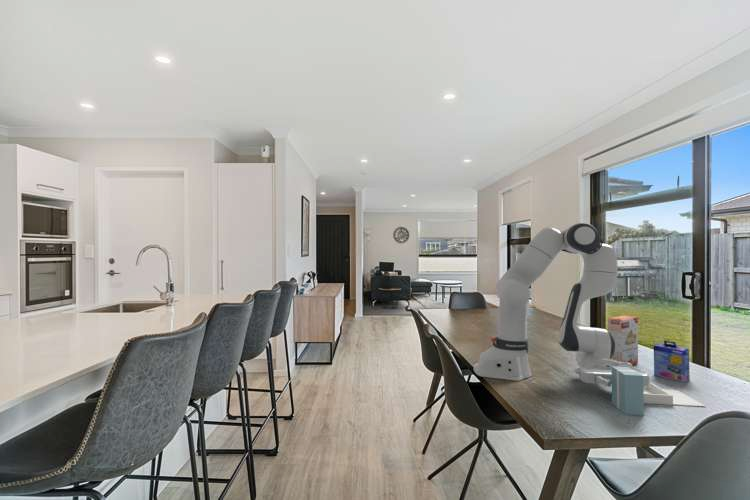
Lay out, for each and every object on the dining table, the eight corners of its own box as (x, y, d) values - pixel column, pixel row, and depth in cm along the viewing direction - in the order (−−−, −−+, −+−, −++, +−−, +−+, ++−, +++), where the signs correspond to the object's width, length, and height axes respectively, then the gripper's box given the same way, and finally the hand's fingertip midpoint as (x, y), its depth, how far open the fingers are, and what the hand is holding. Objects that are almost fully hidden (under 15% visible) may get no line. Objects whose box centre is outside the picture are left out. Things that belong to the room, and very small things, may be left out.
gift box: (625, 414, 104) (624, 374, 104) (611, 403, 112) (611, 366, 112) (644, 415, 103) (643, 375, 103) (629, 404, 111) (628, 366, 111)
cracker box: (623, 369, 144) (622, 319, 144) (607, 365, 149) (606, 317, 149) (639, 364, 151) (638, 316, 151) (624, 360, 156) (623, 314, 156)
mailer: (638, 402, 112) (638, 393, 112) (617, 387, 125) (617, 379, 125) (705, 407, 108) (705, 397, 108) (677, 390, 121) (676, 382, 121)
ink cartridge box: (653, 375, 137) (652, 339, 137) (658, 372, 140) (657, 337, 140) (685, 382, 129) (684, 344, 129) (690, 379, 132) (689, 342, 132)
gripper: (572, 360, 124) (589, 373, 110) (634, 362, 121) (660, 376, 107) (572, 377, 124) (589, 393, 110) (635, 380, 121) (660, 397, 107)
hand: (625, 385), depth 109 cm, fingers open, 8 cm apart
